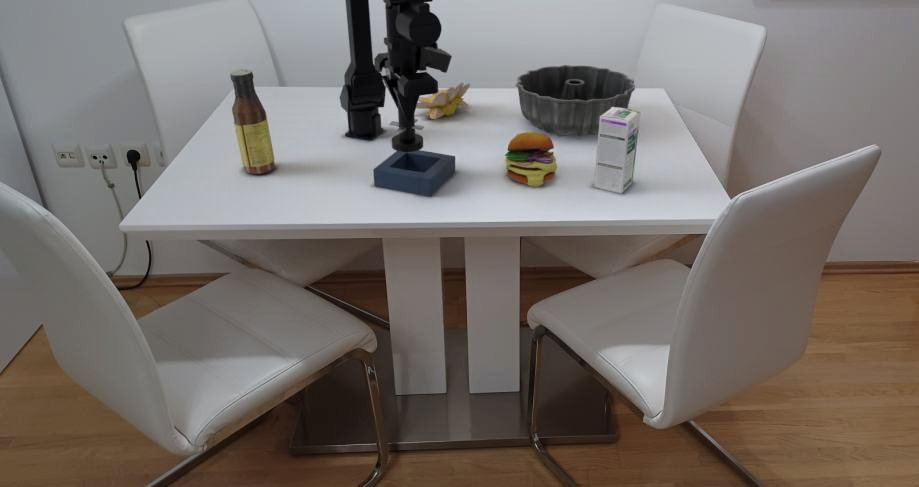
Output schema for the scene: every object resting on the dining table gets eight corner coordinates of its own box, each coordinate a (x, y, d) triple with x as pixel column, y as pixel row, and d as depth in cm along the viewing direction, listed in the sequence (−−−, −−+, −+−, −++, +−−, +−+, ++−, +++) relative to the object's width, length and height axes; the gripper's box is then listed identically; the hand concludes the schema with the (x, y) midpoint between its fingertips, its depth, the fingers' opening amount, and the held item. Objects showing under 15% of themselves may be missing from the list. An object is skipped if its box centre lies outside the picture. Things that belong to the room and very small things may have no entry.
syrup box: (621, 194, 134) (631, 120, 126) (592, 187, 136) (599, 114, 129) (632, 183, 138) (642, 110, 130) (603, 176, 140) (611, 105, 133)
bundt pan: (499, 135, 159) (500, 92, 154) (532, 99, 180) (534, 59, 175) (618, 152, 151) (624, 106, 146) (638, 111, 172) (643, 70, 167)
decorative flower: (447, 91, 180) (451, 55, 173) (479, 112, 174) (484, 75, 168) (402, 110, 171) (404, 73, 164) (434, 132, 166) (438, 95, 159)
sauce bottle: (281, 165, 145) (268, 68, 135) (264, 177, 140) (249, 78, 130) (253, 161, 147) (238, 65, 137) (236, 173, 142) (218, 74, 132)
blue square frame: (374, 186, 137) (373, 169, 135) (402, 162, 146) (401, 146, 145) (430, 196, 133) (429, 179, 131) (455, 172, 142) (455, 155, 141)
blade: (384, 149, 135) (381, 98, 130) (400, 137, 140) (397, 87, 135) (415, 155, 132) (413, 103, 127) (430, 142, 138) (429, 91, 133)
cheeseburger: (508, 189, 135) (507, 136, 132) (501, 178, 145) (500, 129, 143) (561, 186, 136) (561, 133, 133) (550, 176, 146) (550, 126, 143)
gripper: (466, 41, 121) (465, 129, 128) (428, 17, 135) (429, 97, 143) (403, 48, 117) (406, 138, 125) (371, 23, 132) (376, 104, 140)
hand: (406, 118), depth 133 cm, fingers closed on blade, 3 cm apart
